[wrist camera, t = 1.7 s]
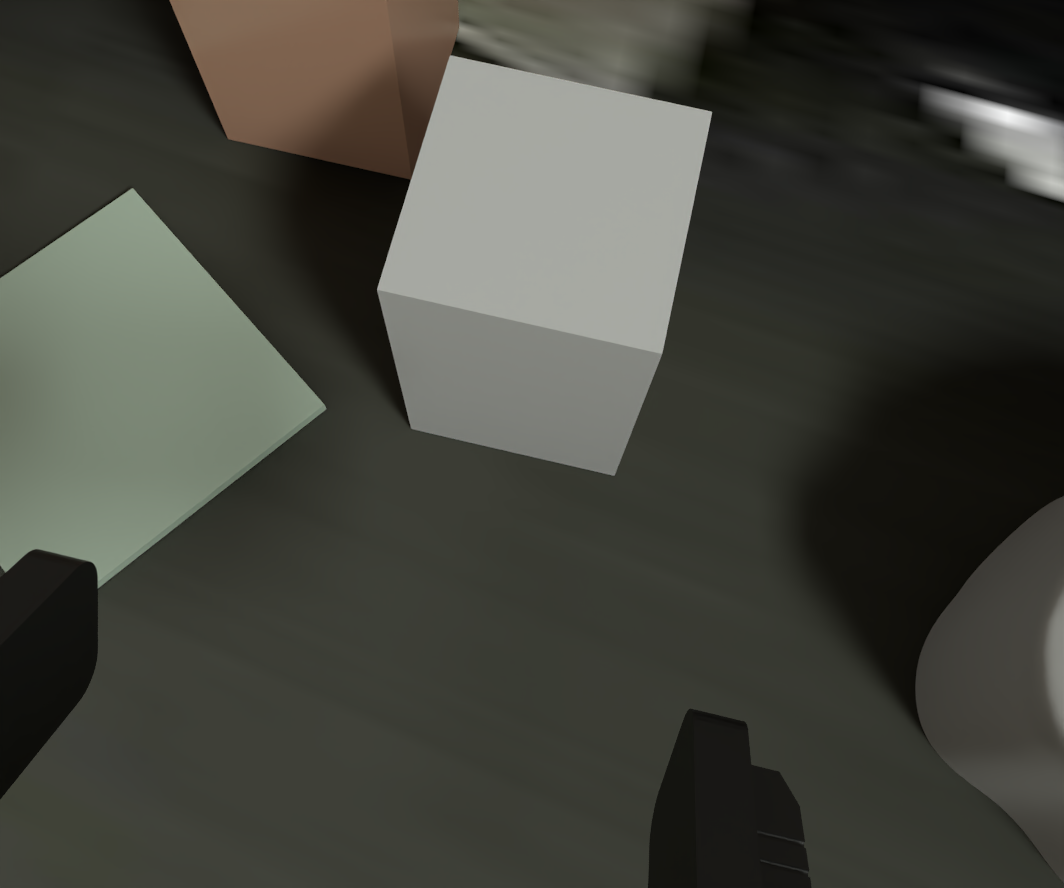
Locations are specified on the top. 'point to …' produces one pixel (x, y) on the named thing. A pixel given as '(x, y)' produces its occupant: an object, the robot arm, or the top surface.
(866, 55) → the top surface
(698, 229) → the top surface
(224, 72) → the salmon brown rectangular block
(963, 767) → the lumpy-topped squat cylinder
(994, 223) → the top surface
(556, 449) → the light grey rectangular block
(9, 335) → the green mat
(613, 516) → the top surface
